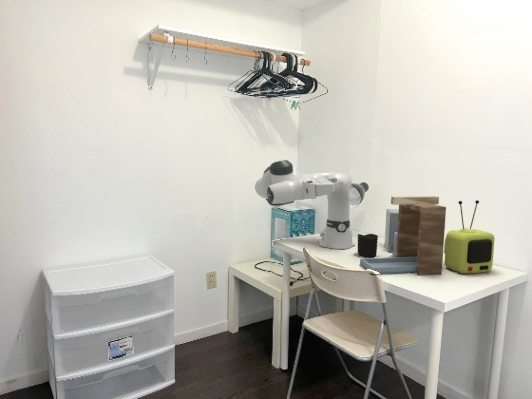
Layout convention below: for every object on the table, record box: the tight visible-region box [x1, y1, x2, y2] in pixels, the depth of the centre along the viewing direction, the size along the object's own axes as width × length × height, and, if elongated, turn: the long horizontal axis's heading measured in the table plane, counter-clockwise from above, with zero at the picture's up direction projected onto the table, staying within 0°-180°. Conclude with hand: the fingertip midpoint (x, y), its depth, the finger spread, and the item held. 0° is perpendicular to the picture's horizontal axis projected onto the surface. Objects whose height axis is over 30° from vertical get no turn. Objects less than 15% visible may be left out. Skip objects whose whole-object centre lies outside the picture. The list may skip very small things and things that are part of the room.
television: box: [443, 199, 495, 275], centre depth 172 cm, size 18×18×30 cm
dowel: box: [390, 195, 440, 206], centre depth 170 cm, size 3×20×3 cm, turn 99°
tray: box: [359, 256, 417, 276], centre depth 173 cm, size 14×27×3 cm, turn 99°
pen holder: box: [357, 233, 379, 258], centre depth 193 cm, size 9×9×10 cm
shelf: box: [396, 204, 447, 276], centre depth 172 cm, size 20×10×28 cm, turn 9°
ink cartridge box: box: [391, 232, 398, 258], centre depth 188 cm, size 10×6×14 cm, turn 78°
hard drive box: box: [384, 208, 399, 253], centre depth 206 cm, size 16×8×20 cm, turn 170°
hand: (339, 181), depth 165 cm, fingers open, 8 cm apart
